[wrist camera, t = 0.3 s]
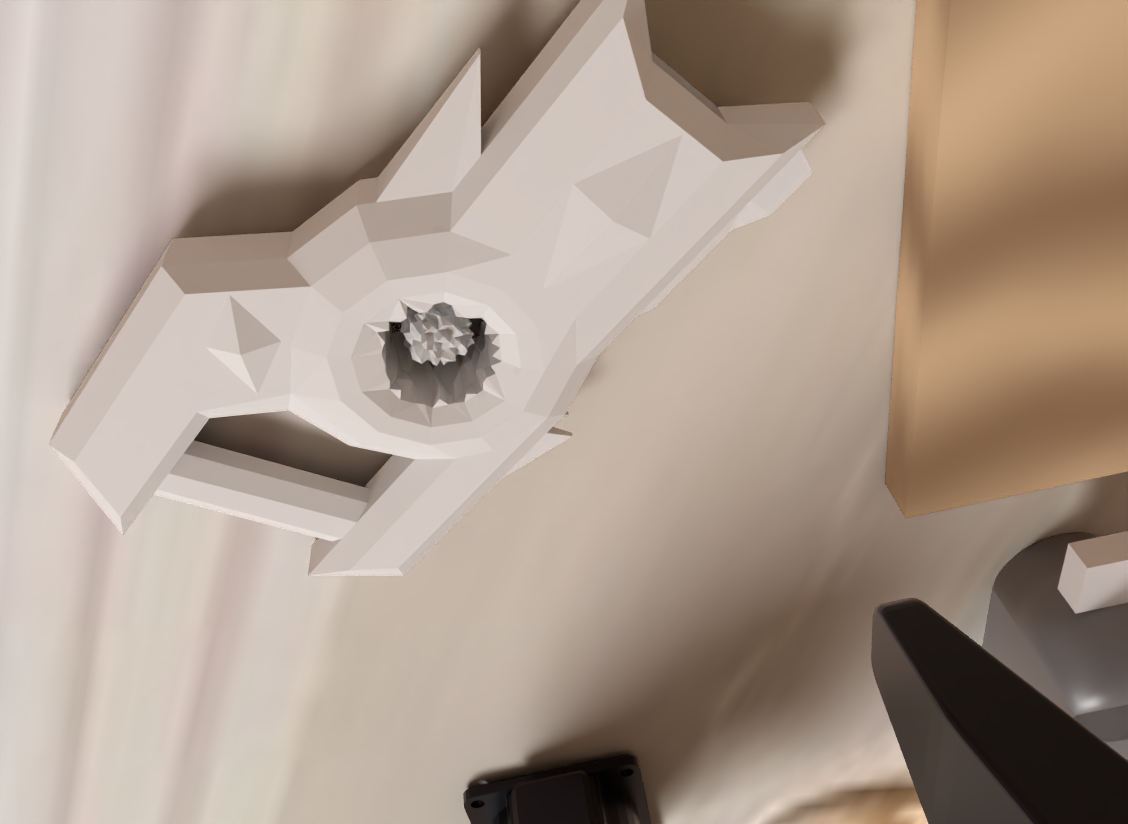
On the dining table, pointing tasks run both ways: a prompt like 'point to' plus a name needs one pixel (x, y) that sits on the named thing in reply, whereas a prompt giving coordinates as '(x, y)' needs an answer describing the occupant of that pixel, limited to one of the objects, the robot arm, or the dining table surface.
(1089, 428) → the oak board
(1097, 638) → the plug
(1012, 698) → the robot arm
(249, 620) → the dining table surface
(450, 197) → the gun
